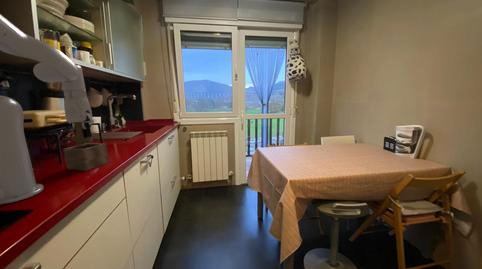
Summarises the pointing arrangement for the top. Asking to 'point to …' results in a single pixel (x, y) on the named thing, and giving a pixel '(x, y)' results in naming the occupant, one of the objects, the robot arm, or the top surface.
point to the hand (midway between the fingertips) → (83, 137)
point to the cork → (81, 134)
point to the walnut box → (86, 156)
